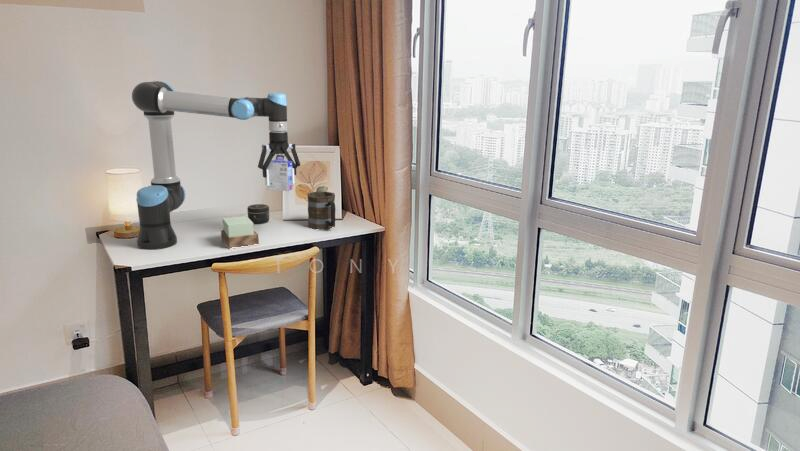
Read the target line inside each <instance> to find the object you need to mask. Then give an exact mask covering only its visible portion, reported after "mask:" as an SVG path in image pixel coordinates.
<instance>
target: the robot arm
mask: <svg viewBox="0 0 800 451" xmlns="http://www.w3.org/2000/svg"><path fill="white" fill-rule="evenodd" d="M131 100H132V103H133V105H135V107H136V108H137V109H138V110H140V111H142V112H143V116H144V118H146V119H147V120H148V129H149V138H150V149H151V157H152V158H151V159H152V168H153V176H154V177H153V178H151V180H150V185H148V186H144V187H142V188H140V189H138V191H137V192H136V204H137V206H136V207H137V212H138V220H139V231H138V235H137V239H136V245H137V247H138V248H139V249H142V248H144V249H143V250H158V249H157V248H160V249H166V248H169V246H170V247H172V245H173V246H175V245H176V244H177V243H178V237H177V235H176V232H175V230H174V228H173V226H172V223H171V214H170V213H171V212H173V211H175V210H177V209H179V208H180V207H181V206H182V205H183V203H184V202H185V199H186V190H185V189H184V187H183V186H182V184H181V179H180V178H179V177H178V176H177V172H176V163H175V162H176V161H175V151H174V141H173V130H172V129H173V128H172V118H173V117H174V116H175V112H179V113H187V114H197V115H204V116H206V115H207V116H214V117H225V118H233V119H237V120H241V121H242V120H243V121H245V120H249V119H251V118H254V117H267V118H268V131H269V133H268V137H269V140H268V141H269V142H268V144H262V145H261V154H260V157H259V160H258V164H257V168H258V169H260V170H262V177H263V178H264V181H265V182H264V183H265V186H266V187H267V186H269V170H267V168H268V166H269V164H270V162H271V160H273V158H274V156H275V157H276V155H285V156H284V157H285V158H286V160H287V161H292V171H293V185H294V184H295V176H297V168H299V167H300V166H301V162H300V160H299V156H298V152H297V150H296V144H295V143H289V137H288V136H289V134H288V103H287V95H286V93H282V92H281V93H280V92H279V93H278V92H275V93H274V92H268V94H267V96H266V97H249V96H246V97H239V98H236V97H228V96H227V97H226V96H219V95H218V96H217V95H209V94H201V93H193V92H192V93H191V92H182V91H176V90H175V88H173V87H172V85H170V84H168V83H167V82H165V81H159V80H157V81H155V80H153V81H144V82H140V83H138V84H137V85H135V86H134V88H133V90H132V92H131ZM288 148H289V149H290V151H291V154H292V157H293V158H292V157H291V155H290V154H289V152H288ZM268 149H269V150H270V151H269V153H268V156H267V151H268ZM266 156H267V157H266ZM293 159H294V160H293ZM165 247H166V248H165Z"/></svg>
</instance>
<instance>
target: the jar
mask: <svg viewBox="0 0 800 451" xmlns="http://www.w3.org/2000/svg"><path fill="white" fill-rule="evenodd" d="M246 209H247V217H248V218H249V219H250V220H251V221H252V222H253V225H264V224H267V223H268V222H269V221H270V206H269V205H267V204H262V203H261V204H259V203H258V204H251V205H248V206H247V208H246Z"/></svg>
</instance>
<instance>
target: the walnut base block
mask: <svg viewBox="0 0 800 451" xmlns="http://www.w3.org/2000/svg"><path fill="white" fill-rule="evenodd" d="M220 233H221V235H220V236H221V242H222V243H223V244H224V243H225V244H226V245H227V246H228V247H229V248H232V247H241V246H248V245H254V244H259V245H260V240H259V234H258V233H257V232H256V231H255V230H254V235H245V236H237V237H228V235H227V234H226V233H225V231H224V230H223V229H221V230H220ZM225 244H224V245H225ZM226 245H225V246H226ZM227 246H226V247H227ZM228 247H227V248H228ZM248 247H249V246H248ZM229 248H228V249H229ZM241 248H242V247H241Z"/></svg>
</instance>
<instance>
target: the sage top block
mask: <svg viewBox="0 0 800 451" xmlns="http://www.w3.org/2000/svg"><path fill="white" fill-rule="evenodd" d="M222 227H223V228H222V230H224V231H225V233H226V234H227V235H228V237H237V236H245V235H254V231H255V230H254V224H253V222H252V221H251V220H250V219H249V218H248V215H244V216H243V215H242V216H234V217H224V218H222Z"/></svg>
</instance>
